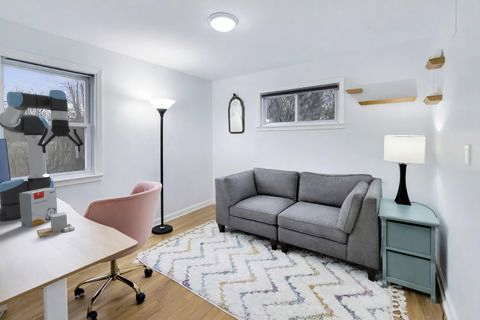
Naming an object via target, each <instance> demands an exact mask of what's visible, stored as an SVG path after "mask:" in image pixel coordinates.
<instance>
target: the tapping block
mask: <svg viewBox="0 0 480 320" xmlns="http://www.w3.org/2000/svg"><path fill="white" fill-rule="evenodd" d="M50 216H51V221H50V228H51V230H52V231H53V232H57V231H59V232H60V231H62V230H64V228H67V224H68V218H67V213H65V212H64V211H63V212H59V213H58V212H57V214H51V215H50Z"/></svg>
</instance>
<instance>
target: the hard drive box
mask: <svg viewBox="0 0 480 320" xmlns="http://www.w3.org/2000/svg"><path fill="white" fill-rule="evenodd" d="M19 197H20V211H21V218H20V223H21V227H27V228H34V227H36V226H38V225H42V224H46V223H48V222H51V216H50V215H51V214H57V213H58V200H57V199H58V198H57V188H55V187H54V188H43V189H38V190H33V191H27V192H22V193H19Z"/></svg>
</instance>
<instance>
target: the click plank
mask: <svg viewBox="0 0 480 320" xmlns="http://www.w3.org/2000/svg"><path fill="white" fill-rule="evenodd" d="M36 231H37V234H38V236H39V238H40V239H42V238H45V237H50V236H54V235H58V234H61V232H60V231H57V232H53V231H52V230H51V227H48V228H41V229H38V230H36Z"/></svg>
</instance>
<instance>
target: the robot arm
mask: <svg viewBox="0 0 480 320" xmlns="http://www.w3.org/2000/svg"><path fill="white" fill-rule="evenodd" d="M6 102H7V107H6V109H4V112H2V113H0V127H1V128H3V129H4V130H5V131H8V132H10V133H11V132H12V133H14V134H23V137H25V138H26V140H27V151H28V153H27V154H28V165H29V175H28V176H27V180H25V179H24V178H18V179H16V178H15V179H12V180H7V181H3V182H0V220H2V221H5V222H6V221H14V220H19V219H21V211H20V197H19V193H22V192H27V191H33V190H38V189H43V188H55V182H54V178H52V177H51V176H50V175H49V174H48V173H47V171H48V170H47V161H46V160H49V151H48V150H49V149H48V144H50V143H51V142H52V140H53V139H54V138H56V137H57V138H58V137H59V138H60V137H62V138H64V137H67V138H68V139H69V140H70V141H71V142H72V143H73V144H74V145H75V146H74V147H75V148H74V149H75V159H79V153H81V146H83V145H84V142H83V140H82V139H81V137H80V136H79V134H78V131H77V129H76V128H71V129H70V125H69V124H70V122H69V109H68V108H69V107H68V95H67V92H66V91H64V90H60V89H51V90H49V94H48V95H45V94H44V95H43V94H36V93H35V94H34V93H27V92H20V91H8V92H7V94H6ZM28 109H39V110H48V111H50V118H51V128H50V124H49V121H48V119H47V117H45V116H41V115H33V114H32V115H30V114H25V113H26V112H27V111H28ZM50 132H51V133H52V134H51V136H50V137H48V138H47V139H46V137H47V136H48V134H49V133H50ZM70 132H71V133H72V134H73V135H74V137H75V138H76V139H74V138H73V136H71V135H70ZM45 139H46V140H45Z"/></svg>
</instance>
